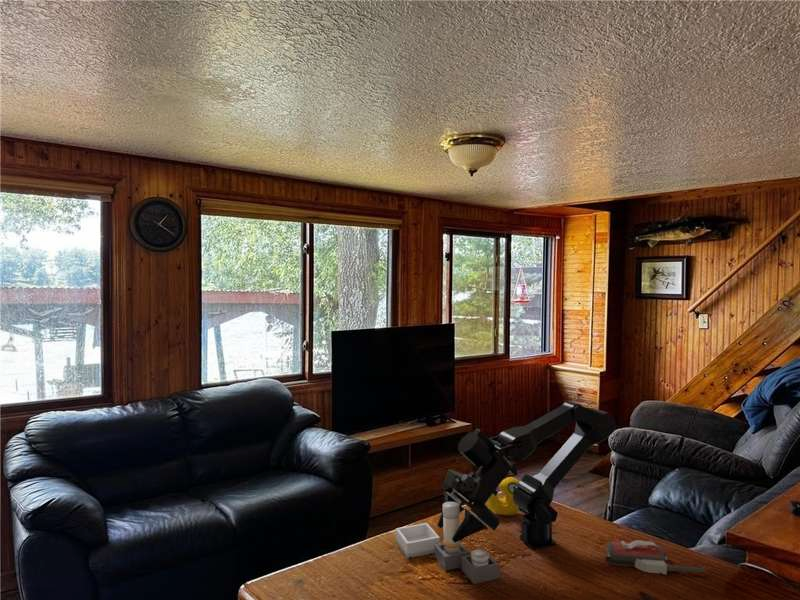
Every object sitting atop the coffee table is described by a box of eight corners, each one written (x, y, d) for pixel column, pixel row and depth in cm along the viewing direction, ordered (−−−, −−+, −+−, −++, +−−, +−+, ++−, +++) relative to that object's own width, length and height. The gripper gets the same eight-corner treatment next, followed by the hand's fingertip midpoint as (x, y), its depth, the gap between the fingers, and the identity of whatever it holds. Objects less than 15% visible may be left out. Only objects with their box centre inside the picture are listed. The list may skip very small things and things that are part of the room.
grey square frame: (458, 552, 129) (458, 539, 129) (470, 565, 124) (470, 552, 124) (434, 557, 127) (434, 544, 127) (445, 570, 122) (444, 557, 122)
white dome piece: (483, 568, 122) (483, 548, 122) (492, 576, 119) (491, 556, 119) (468, 571, 121) (468, 551, 121) (476, 580, 118) (475, 559, 117)
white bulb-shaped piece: (456, 555, 128) (455, 500, 127) (463, 563, 124) (462, 507, 124) (441, 558, 127) (440, 503, 126) (447, 567, 123) (446, 509, 123)
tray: (427, 536, 138) (426, 522, 138) (440, 551, 130) (439, 537, 130) (396, 542, 135) (395, 528, 135) (407, 558, 127) (406, 543, 127)
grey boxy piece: (486, 564, 124) (485, 551, 124) (499, 578, 118) (499, 564, 118) (461, 569, 122) (461, 556, 122) (473, 583, 116) (473, 570, 116)
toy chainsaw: (607, 571, 120) (707, 579, 116) (607, 552, 120) (707, 559, 116) (600, 551, 129) (694, 558, 125) (600, 533, 129) (694, 539, 125)
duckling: (527, 509, 152) (527, 473, 151) (531, 518, 146) (531, 481, 146) (486, 510, 152) (485, 474, 152) (488, 518, 147) (488, 481, 146)
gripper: (447, 446, 135) (406, 498, 131) (486, 470, 117) (440, 531, 114) (476, 472, 138) (437, 524, 134) (518, 500, 120) (474, 560, 117)
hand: (445, 533), depth 125 cm, fingers open, 7 cm apart
